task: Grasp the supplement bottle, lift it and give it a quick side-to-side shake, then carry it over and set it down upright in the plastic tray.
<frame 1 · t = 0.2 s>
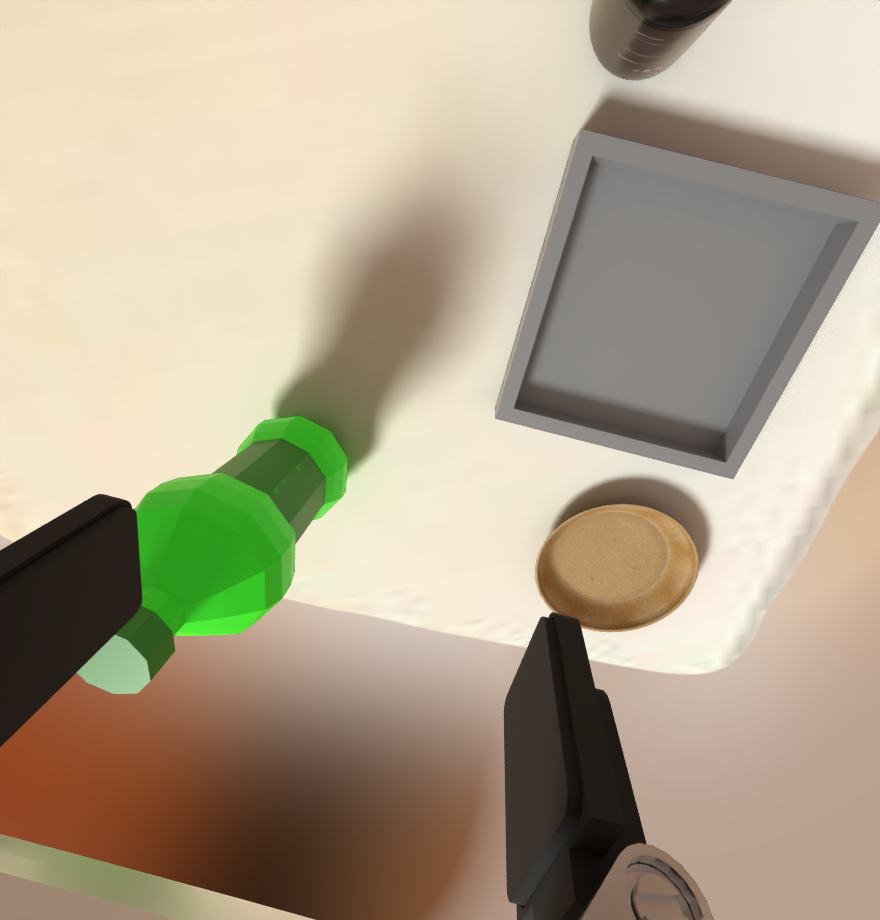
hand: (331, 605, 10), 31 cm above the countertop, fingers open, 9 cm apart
supplement bottle: (641, 19, 29), on the countertop
plant saucer: (608, 555, 45), on the countertop
plastic bottle: (310, 452, 44), on the countertop
tray: (653, 320, 35), on the countertop
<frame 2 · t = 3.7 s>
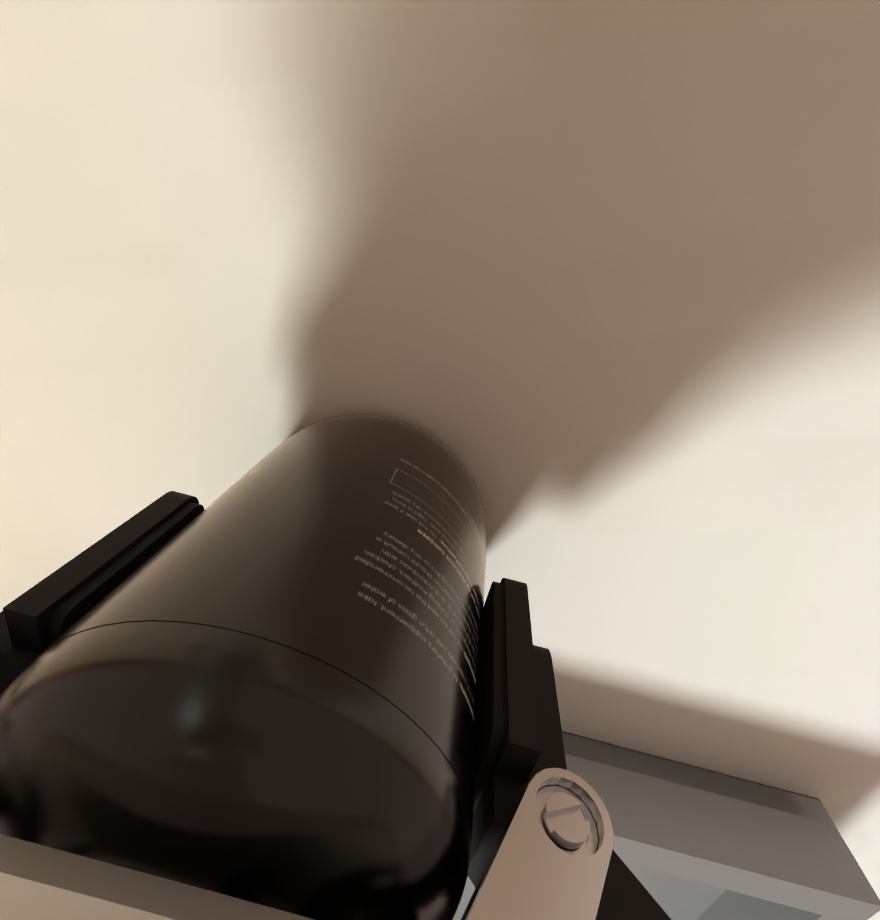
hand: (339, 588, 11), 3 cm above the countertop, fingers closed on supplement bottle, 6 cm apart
supplement bottle: (375, 513, 14), on the countertop, touching gripper
tray: (481, 867, 21), on the countertop
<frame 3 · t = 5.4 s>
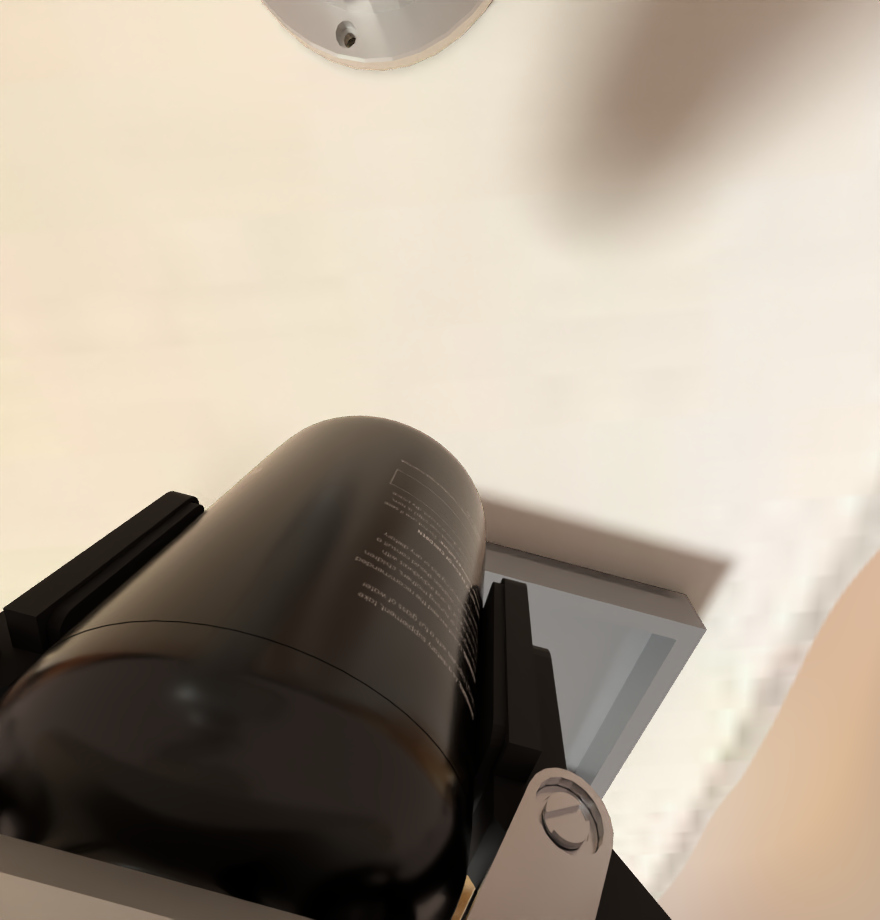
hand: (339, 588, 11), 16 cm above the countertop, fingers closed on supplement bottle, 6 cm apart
supplement bottle: (375, 513, 14), point 12 cm above the countertop, touching gripper
plant saucer: (476, 847, 41), on the countertop
tray: (487, 666, 32), on the countertop
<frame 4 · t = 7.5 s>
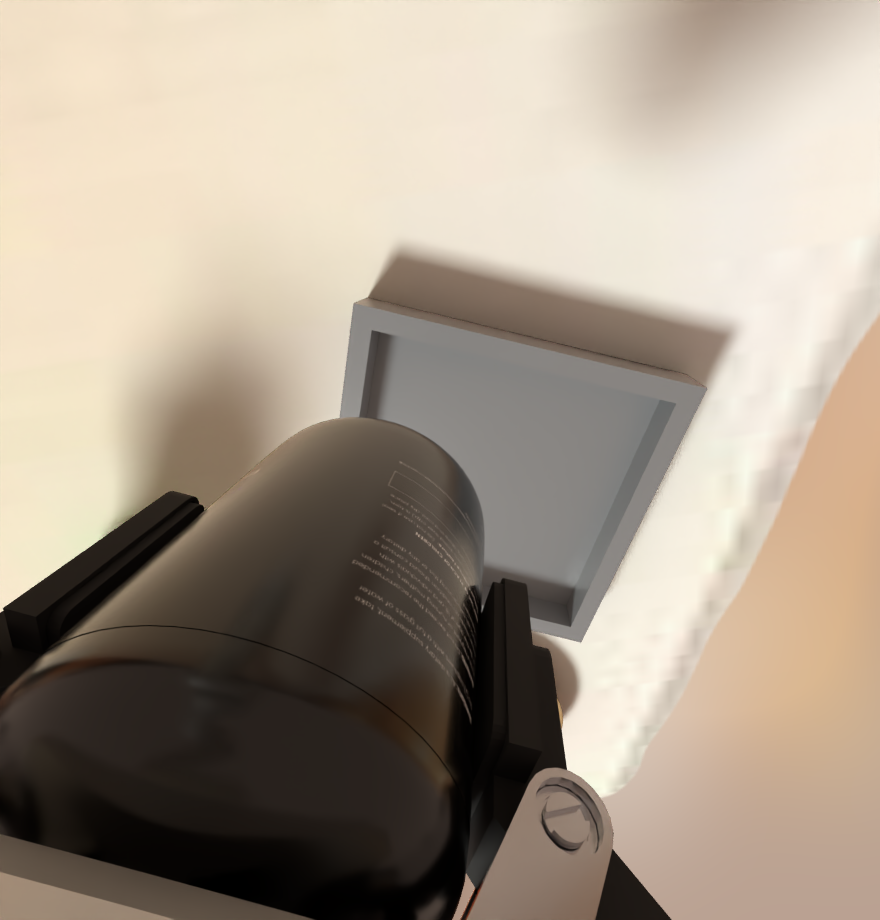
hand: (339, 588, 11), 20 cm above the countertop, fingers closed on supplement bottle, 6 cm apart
supplement bottle: (374, 514, 14), point 17 cm above the countertop, touching gripper
tray: (485, 476, 32), on the countertop
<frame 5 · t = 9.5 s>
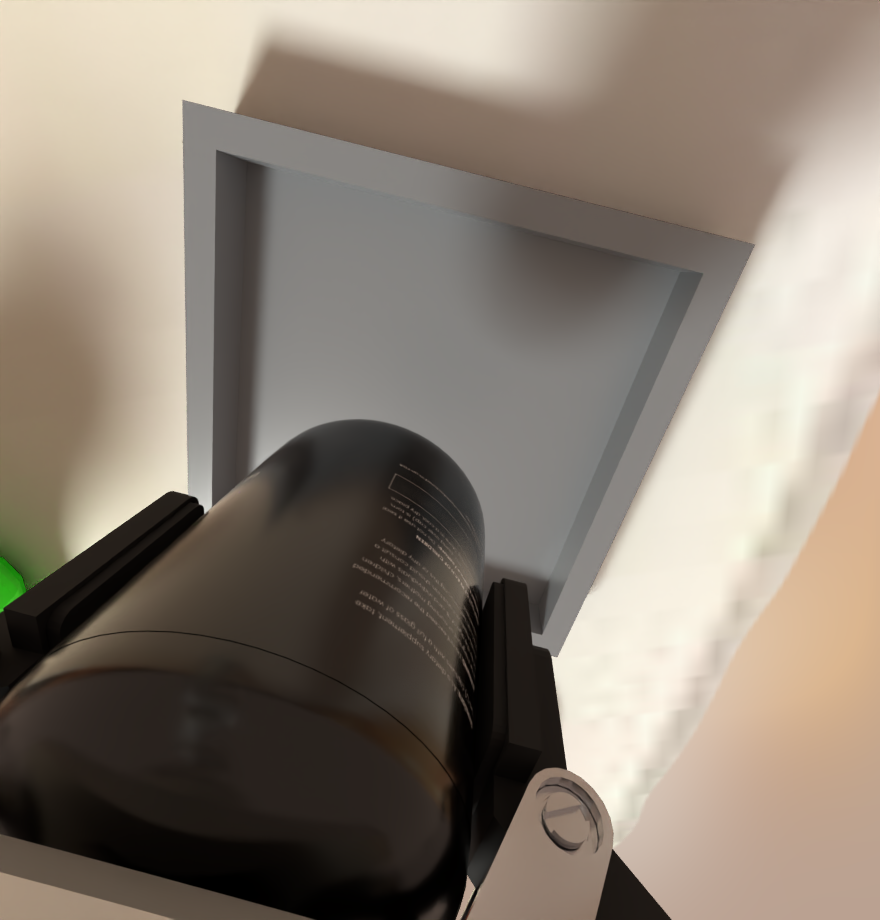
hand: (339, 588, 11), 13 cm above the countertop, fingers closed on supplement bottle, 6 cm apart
supplement bottle: (374, 516, 14), point 9 cm above the countertop, touching gripper
tray: (420, 415, 22), on the countertop
when the fingers open (6 cm above the countertop, at t = 11.3 s): supplement bottle drops 2 cm, resting on tray.
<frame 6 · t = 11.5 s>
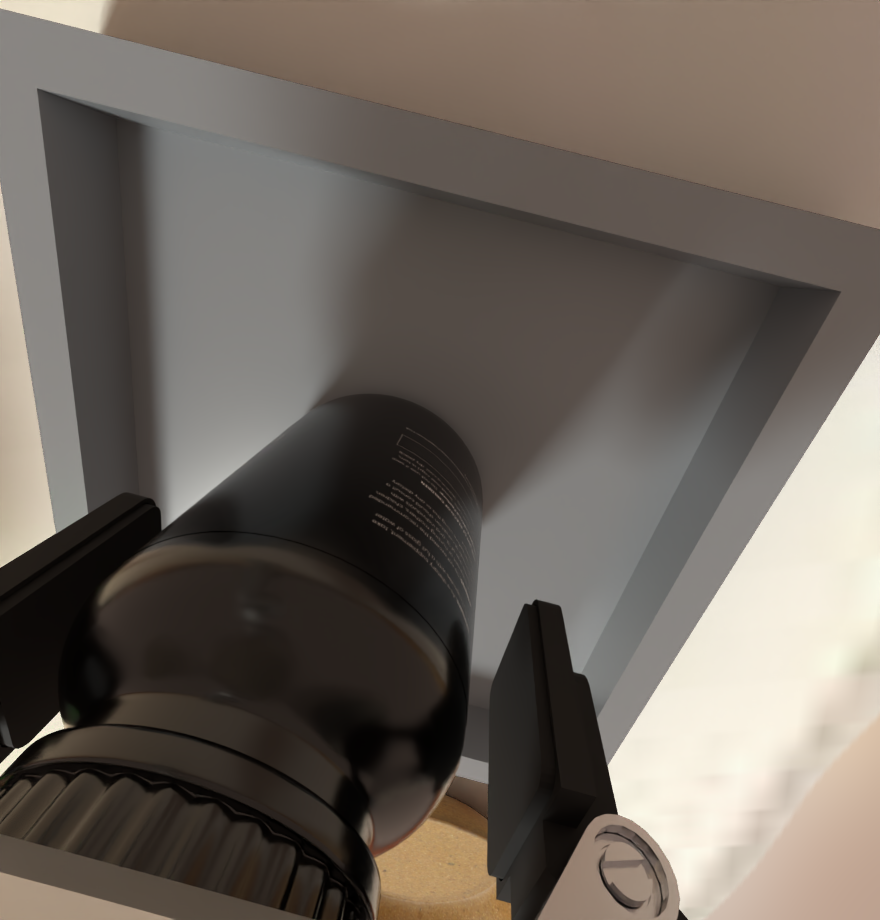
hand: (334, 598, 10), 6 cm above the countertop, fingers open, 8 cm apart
supplement bottle: (383, 485, 15), point 1 cm above the countertop, touching tray
plant saucer: (408, 836, 25), on the countertop
tray: (390, 483, 16), on the countertop
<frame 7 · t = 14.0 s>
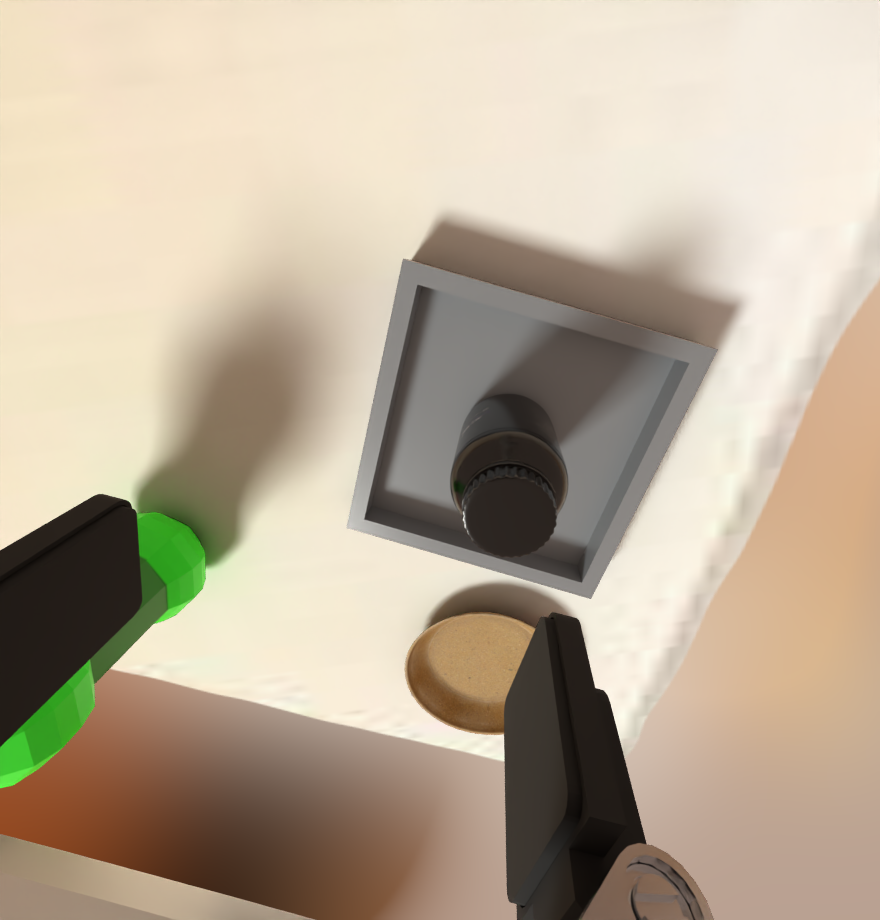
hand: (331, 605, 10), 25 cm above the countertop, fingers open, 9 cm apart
supplement bottle: (506, 435, 34), point 1 cm above the countertop, touching tray
plant saucer: (485, 654, 43), on the countertop
plastic bottle: (175, 541, 42), on the countertop
tray: (507, 435, 34), on the countertop
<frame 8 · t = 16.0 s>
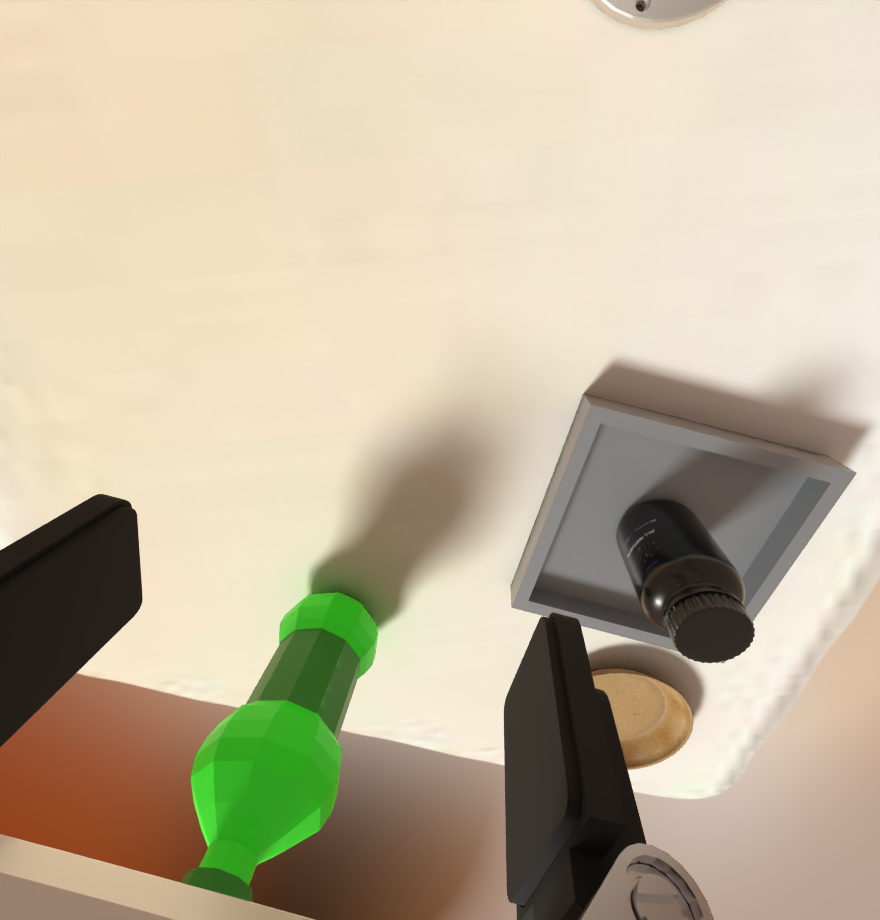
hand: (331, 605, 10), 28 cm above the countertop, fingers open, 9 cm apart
supplement bottle: (654, 530, 39), point 1 cm above the countertop, touching tray
plant saucer: (611, 701, 49), on the countertop
plastic bottle: (341, 611, 48), on the countertop
tray: (652, 528, 40), on the countertop
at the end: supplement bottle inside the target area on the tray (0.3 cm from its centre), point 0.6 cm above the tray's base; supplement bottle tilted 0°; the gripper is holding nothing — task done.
